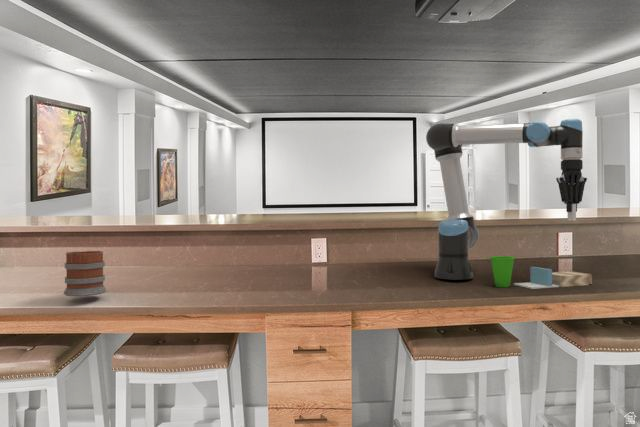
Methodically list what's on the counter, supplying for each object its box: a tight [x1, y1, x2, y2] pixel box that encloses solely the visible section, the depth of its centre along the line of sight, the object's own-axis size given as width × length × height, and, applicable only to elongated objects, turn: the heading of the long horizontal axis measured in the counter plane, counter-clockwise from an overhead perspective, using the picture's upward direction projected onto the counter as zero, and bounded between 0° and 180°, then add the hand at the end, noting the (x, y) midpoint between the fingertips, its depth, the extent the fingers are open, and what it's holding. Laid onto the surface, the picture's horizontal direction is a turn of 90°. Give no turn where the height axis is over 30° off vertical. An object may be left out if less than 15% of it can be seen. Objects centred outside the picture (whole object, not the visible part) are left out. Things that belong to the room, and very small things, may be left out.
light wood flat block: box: [552, 270, 593, 288], centre depth 192 cm, size 15×10×4 cm, turn 108°
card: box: [529, 266, 553, 286], centre depth 188 cm, size 6×9×2 cm
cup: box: [489, 255, 516, 288], centre depth 188 cm, size 9×9×11 cm
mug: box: [63, 250, 107, 297], centre depth 182 cm, size 14×19×15 cm
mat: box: [513, 281, 560, 290], centre depth 188 cm, size 12×10×1 cm
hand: (571, 220), depth 193 cm, fingers closed
